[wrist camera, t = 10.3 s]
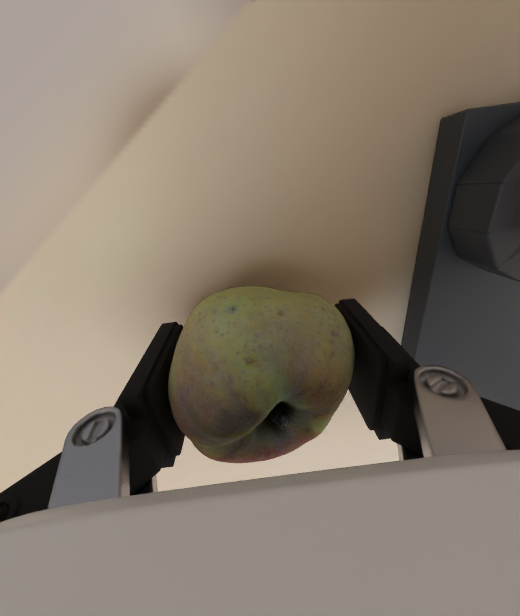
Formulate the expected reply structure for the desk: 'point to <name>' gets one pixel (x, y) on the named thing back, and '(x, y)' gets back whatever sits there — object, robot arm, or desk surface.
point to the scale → (471, 255)
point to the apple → (259, 372)
